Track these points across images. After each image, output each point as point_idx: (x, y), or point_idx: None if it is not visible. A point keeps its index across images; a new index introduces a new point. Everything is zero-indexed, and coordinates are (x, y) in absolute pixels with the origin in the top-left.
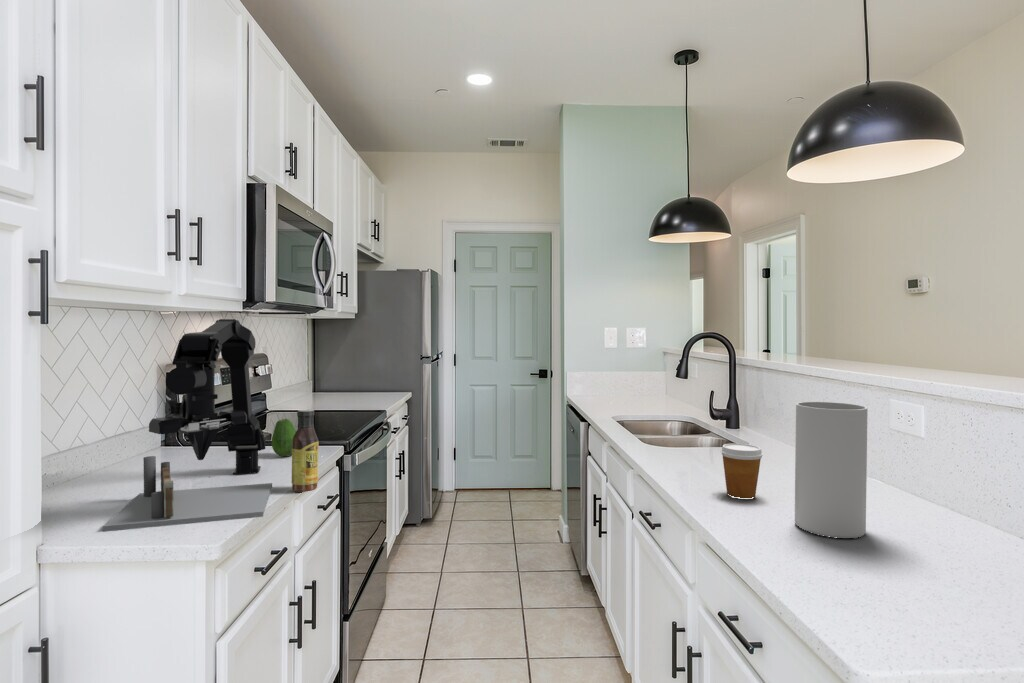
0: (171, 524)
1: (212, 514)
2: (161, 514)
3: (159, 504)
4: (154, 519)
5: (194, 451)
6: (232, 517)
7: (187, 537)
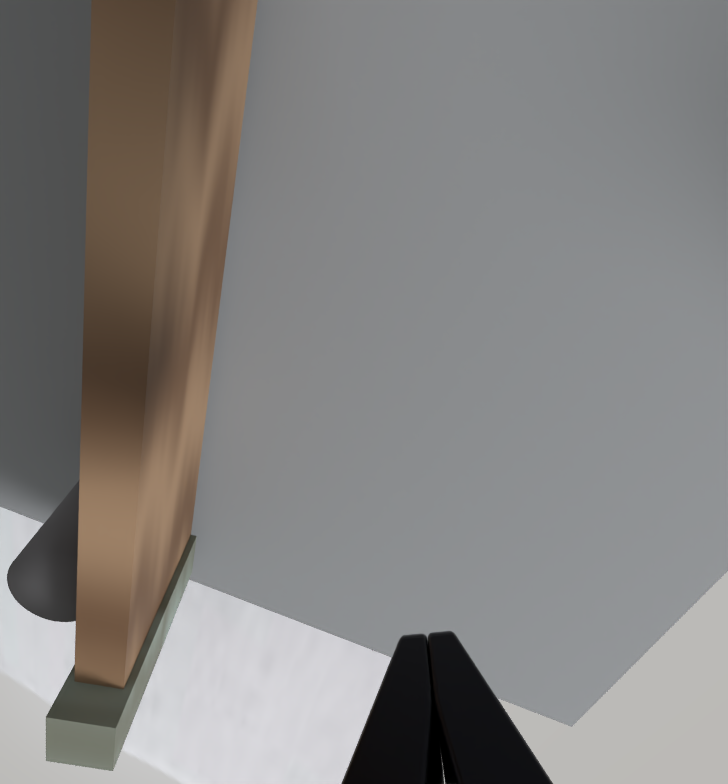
0: None
1: (376, 623)
2: None
3: None
4: None
5: (360, 743)
6: None
7: (220, 731)
